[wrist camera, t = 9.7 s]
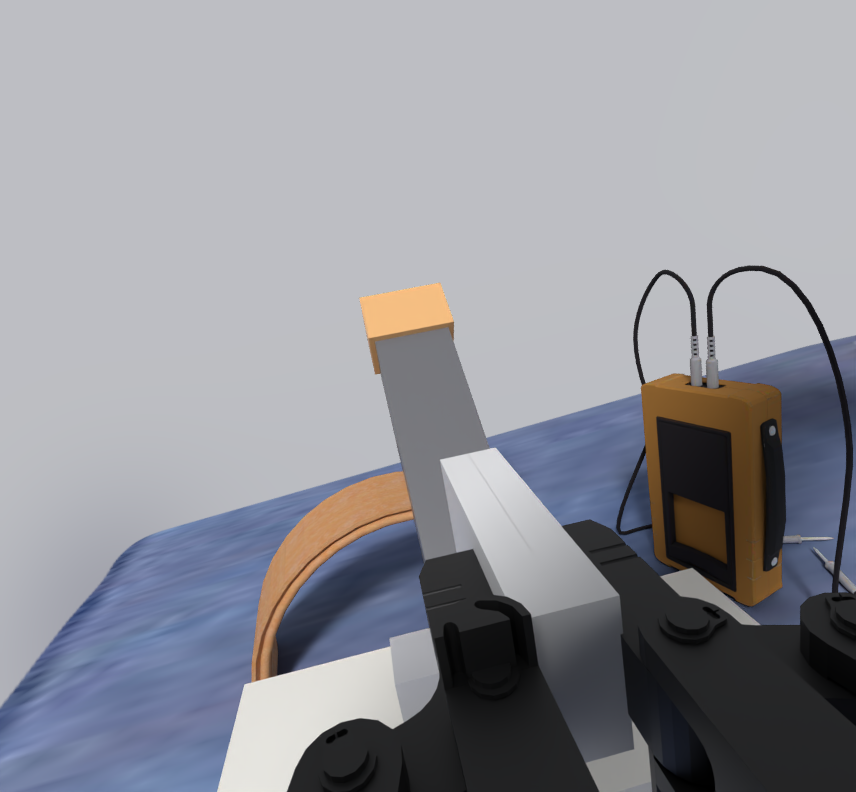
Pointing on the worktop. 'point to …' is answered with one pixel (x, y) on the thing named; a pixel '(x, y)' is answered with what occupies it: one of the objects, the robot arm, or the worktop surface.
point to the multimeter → (724, 468)
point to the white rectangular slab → (387, 706)
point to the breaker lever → (423, 400)
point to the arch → (322, 551)
